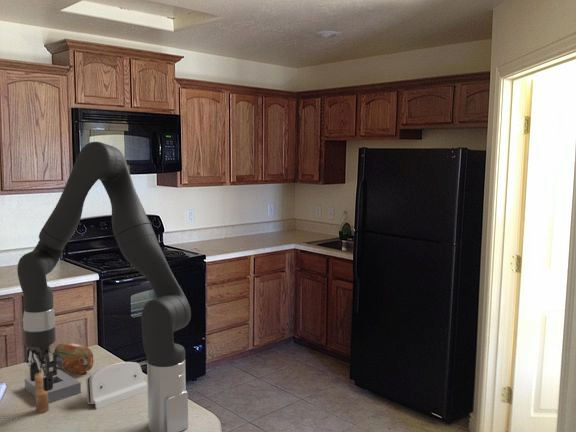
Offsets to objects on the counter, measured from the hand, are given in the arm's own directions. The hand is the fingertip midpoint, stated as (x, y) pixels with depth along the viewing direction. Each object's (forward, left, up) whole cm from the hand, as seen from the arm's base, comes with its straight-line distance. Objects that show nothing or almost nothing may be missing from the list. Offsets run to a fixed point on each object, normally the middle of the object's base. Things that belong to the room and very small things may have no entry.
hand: (41, 385), depth 140 cm
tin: (+20, -18, -7) cm, 28 cm away
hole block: (+10, -7, -7) cm, 14 cm away
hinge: (-6, -18, -7) cm, 20 cm away
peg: (0, 0, -7) cm, 7 cm away
